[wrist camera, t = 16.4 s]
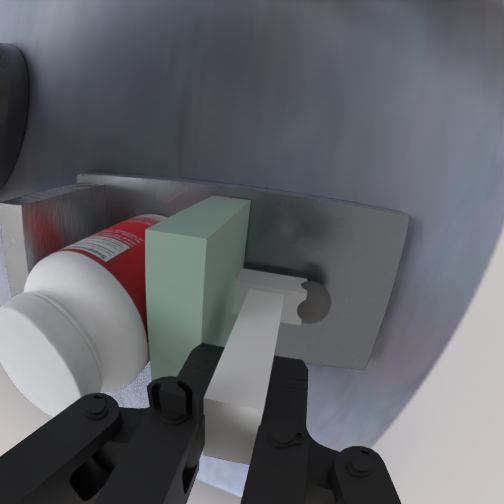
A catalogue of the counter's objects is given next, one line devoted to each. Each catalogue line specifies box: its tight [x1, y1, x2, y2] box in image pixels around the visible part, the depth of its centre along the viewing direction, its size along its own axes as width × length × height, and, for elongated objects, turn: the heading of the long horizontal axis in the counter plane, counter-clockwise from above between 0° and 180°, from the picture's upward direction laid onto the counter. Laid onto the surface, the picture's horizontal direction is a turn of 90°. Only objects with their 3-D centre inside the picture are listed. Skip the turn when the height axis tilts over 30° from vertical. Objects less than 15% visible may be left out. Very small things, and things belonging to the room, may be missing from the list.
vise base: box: [0, 172, 410, 370], centre depth 15 cm, size 20×10×8 cm, turn 84°
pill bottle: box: [0, 214, 167, 417], centre depth 13 cm, size 6×6×11 cm
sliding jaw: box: [145, 195, 331, 381], centre depth 14 cm, size 7×9×8 cm
